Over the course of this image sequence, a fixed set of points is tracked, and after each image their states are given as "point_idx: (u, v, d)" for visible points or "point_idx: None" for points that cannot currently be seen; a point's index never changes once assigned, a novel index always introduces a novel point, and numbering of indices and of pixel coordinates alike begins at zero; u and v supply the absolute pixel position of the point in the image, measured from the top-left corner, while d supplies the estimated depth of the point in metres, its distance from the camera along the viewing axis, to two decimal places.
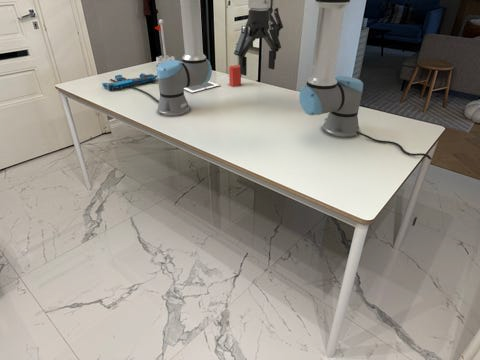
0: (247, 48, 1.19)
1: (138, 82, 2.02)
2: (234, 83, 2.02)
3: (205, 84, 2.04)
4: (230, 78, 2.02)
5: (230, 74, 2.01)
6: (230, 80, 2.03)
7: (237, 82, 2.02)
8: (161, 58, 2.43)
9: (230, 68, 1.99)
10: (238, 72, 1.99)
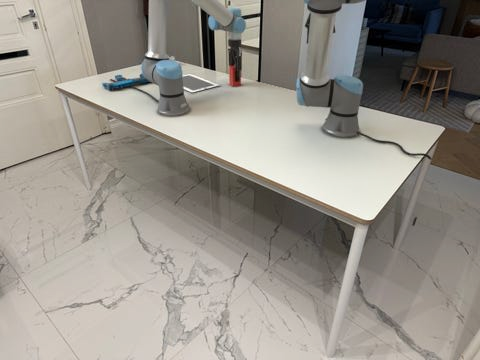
0: (230, 62, 2.00)
1: (138, 82, 2.02)
2: (234, 83, 2.02)
3: (205, 84, 2.04)
4: (230, 78, 2.02)
5: (230, 74, 2.01)
6: (230, 80, 2.03)
7: (237, 82, 2.02)
8: None
9: (230, 68, 1.99)
10: None
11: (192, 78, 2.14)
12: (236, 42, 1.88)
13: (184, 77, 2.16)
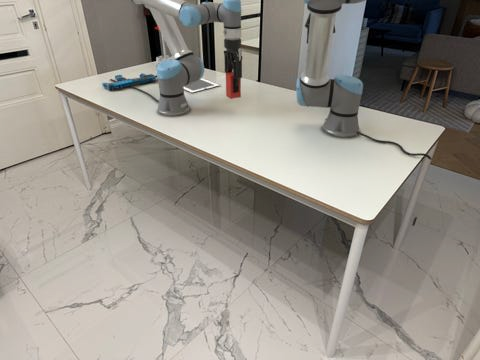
0: (227, 68, 1.57)
1: (138, 82, 2.02)
2: (233, 95, 1.59)
3: (205, 84, 2.04)
4: (227, 88, 1.60)
5: (227, 83, 1.58)
6: (227, 91, 1.60)
7: (236, 93, 1.60)
8: (161, 58, 2.43)
9: (227, 76, 1.56)
10: None
11: None
12: (235, 43, 1.46)
13: None
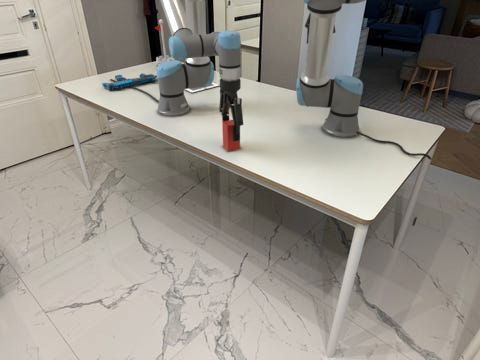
0: (222, 109, 1.31)
1: (138, 82, 2.02)
2: (231, 147, 1.34)
3: None
4: (224, 139, 1.34)
5: (224, 133, 1.33)
6: (224, 141, 1.35)
7: (234, 145, 1.34)
8: (161, 58, 2.43)
9: (224, 125, 1.31)
10: None
11: None
12: (232, 84, 1.19)
13: None
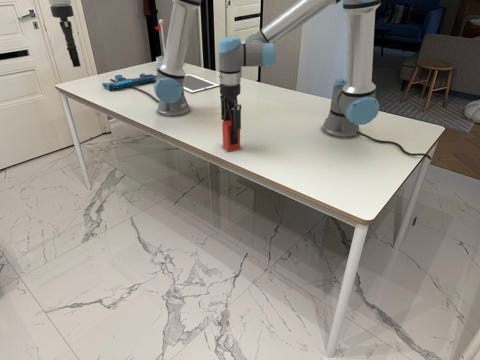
0: (65, 36, 1.39)
1: (138, 82, 2.02)
2: (231, 147, 1.34)
3: (205, 84, 2.04)
4: (224, 139, 1.34)
5: (224, 133, 1.33)
6: (224, 141, 1.35)
7: (234, 145, 1.34)
8: (161, 58, 2.43)
9: (224, 125, 1.31)
10: None
11: (192, 78, 2.14)
12: (59, 9, 1.26)
13: None
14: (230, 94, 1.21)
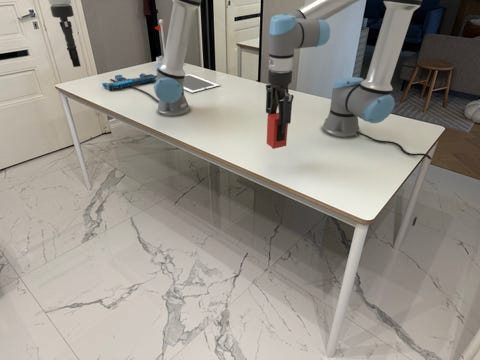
0: (65, 36, 1.39)
1: (138, 82, 2.02)
2: (276, 144, 1.18)
3: (205, 84, 2.04)
4: (269, 134, 1.18)
5: (269, 128, 1.17)
6: (268, 137, 1.19)
7: (281, 141, 1.18)
8: (161, 58, 2.43)
9: (270, 119, 1.15)
10: None
11: (192, 78, 2.14)
12: (59, 9, 1.26)
13: None
14: (281, 82, 1.05)
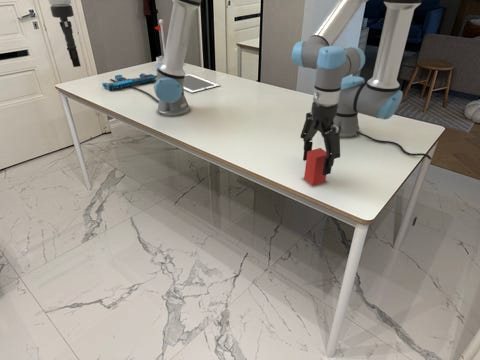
0: (65, 36, 1.39)
1: (138, 82, 2.02)
2: (316, 181, 1.13)
3: (205, 84, 2.04)
4: (307, 171, 1.14)
5: (308, 165, 1.12)
6: (307, 174, 1.14)
7: (320, 178, 1.13)
8: (161, 58, 2.43)
9: (310, 156, 1.10)
10: None
11: (192, 78, 2.14)
12: (59, 9, 1.26)
13: None
14: (327, 116, 0.99)
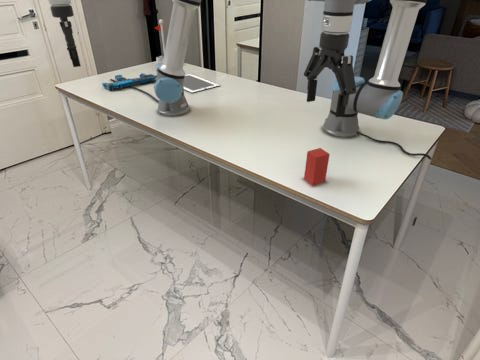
0: (65, 36, 1.39)
1: (138, 82, 2.02)
2: (316, 181, 1.13)
3: (205, 84, 2.04)
4: (307, 171, 1.14)
5: (308, 165, 1.12)
6: (307, 174, 1.14)
7: (320, 178, 1.13)
8: (161, 58, 2.43)
9: (310, 156, 1.10)
10: (324, 163, 1.10)
11: (192, 78, 2.14)
12: (59, 9, 1.26)
13: None
14: (337, 46, 0.89)
